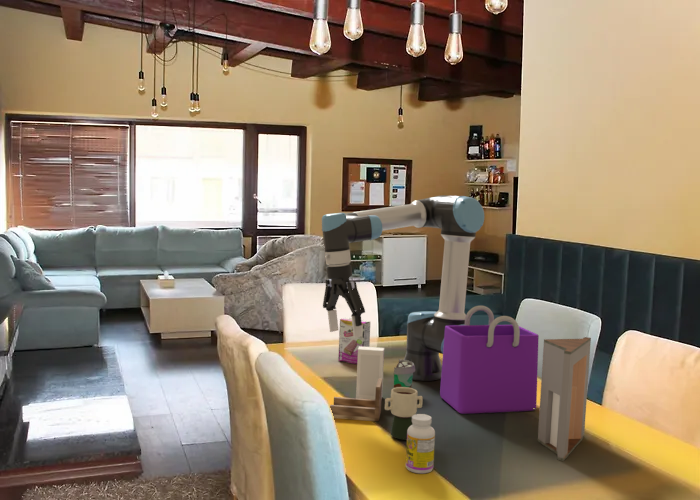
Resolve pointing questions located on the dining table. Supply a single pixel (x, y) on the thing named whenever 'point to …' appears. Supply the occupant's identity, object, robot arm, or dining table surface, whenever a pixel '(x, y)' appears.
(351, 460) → the dining table surface
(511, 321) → the shopping bag
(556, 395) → the grey tall angular block
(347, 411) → the wooden holder
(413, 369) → the food container
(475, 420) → the dining table surface
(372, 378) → the white rectangular box
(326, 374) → the dining table surface
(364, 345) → the candy bar box
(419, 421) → the supplement bottle
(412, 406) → the character mug
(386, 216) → the robot arm
